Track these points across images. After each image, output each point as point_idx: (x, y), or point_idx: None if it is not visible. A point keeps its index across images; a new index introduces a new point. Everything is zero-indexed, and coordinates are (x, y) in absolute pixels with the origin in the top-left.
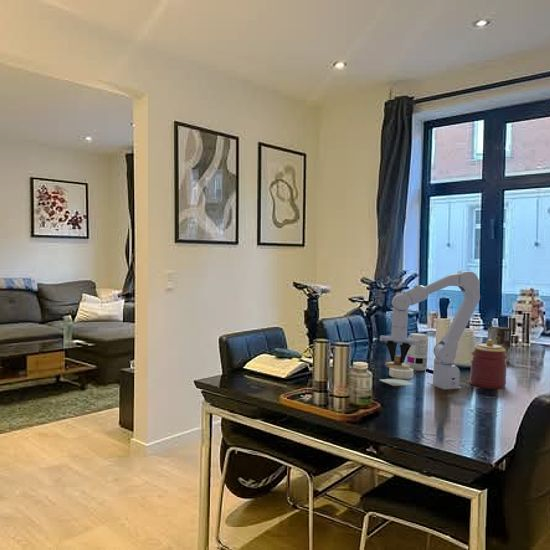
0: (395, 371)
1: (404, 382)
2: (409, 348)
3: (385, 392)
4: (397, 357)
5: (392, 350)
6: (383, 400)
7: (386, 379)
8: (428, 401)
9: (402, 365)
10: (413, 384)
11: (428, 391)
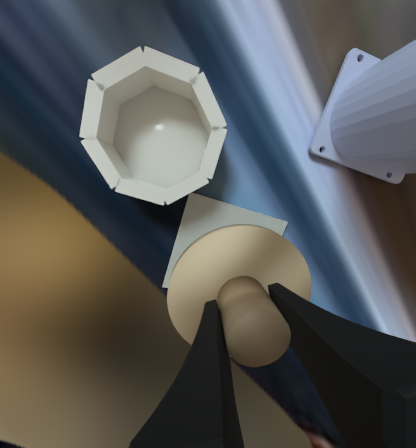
0: (168, 203)
1: None
2: (407, 343)
3: (274, 368)
4: (270, 357)
5: (240, 431)
6: (314, 418)
7: (176, 259)
8: (399, 336)
9: None
10: (285, 227)
11: (357, 248)
